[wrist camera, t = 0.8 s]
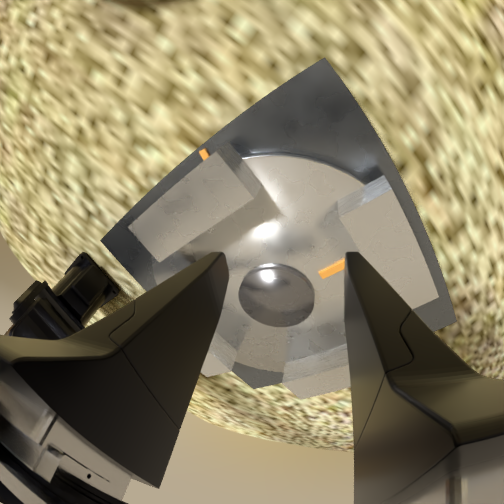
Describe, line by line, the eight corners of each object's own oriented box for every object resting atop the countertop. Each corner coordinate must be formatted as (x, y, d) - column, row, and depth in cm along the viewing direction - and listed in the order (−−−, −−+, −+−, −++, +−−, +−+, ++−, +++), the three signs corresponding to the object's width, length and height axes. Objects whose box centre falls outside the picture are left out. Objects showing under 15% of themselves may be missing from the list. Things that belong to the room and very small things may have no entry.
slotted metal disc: (254, 384, 34) (248, 408, 31) (110, 244, 26) (89, 265, 24) (446, 320, 23) (455, 349, 20) (321, 78, 15) (321, 77, 13)
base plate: (255, 379, 36) (253, 390, 35) (108, 233, 28) (99, 241, 27) (452, 310, 24) (457, 322, 23) (324, 59, 16) (324, 57, 15)
